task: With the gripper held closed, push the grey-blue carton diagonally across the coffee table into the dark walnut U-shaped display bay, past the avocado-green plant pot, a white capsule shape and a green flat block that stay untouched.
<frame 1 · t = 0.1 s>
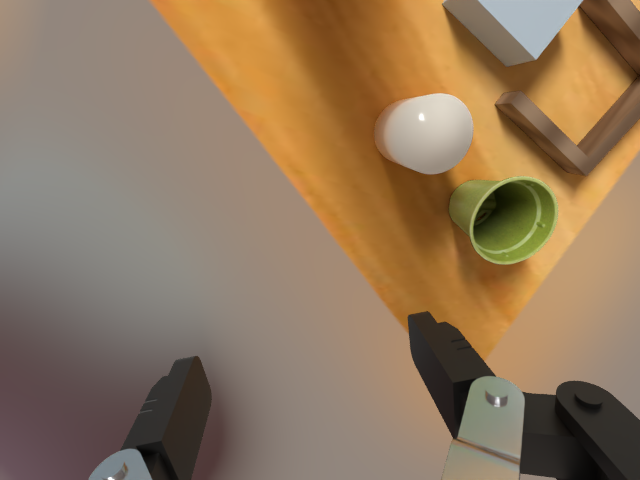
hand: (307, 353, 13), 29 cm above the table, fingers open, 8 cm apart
carton: (496, 6, 36), on the table
white capsule shape: (403, 132, 39), on the table
plant pot: (470, 202, 43), on the table
display bay: (572, 84, 39), on the table
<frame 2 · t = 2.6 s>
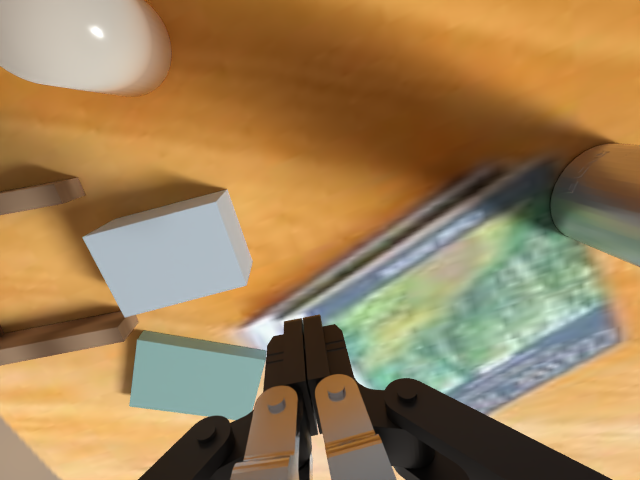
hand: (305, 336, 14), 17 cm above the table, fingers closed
carton: (186, 240, 30), on the table
white capsule shape: (121, 45, 25), on the table
green flat block: (201, 369, 35), on the table
display bay: (42, 268, 30), on the table
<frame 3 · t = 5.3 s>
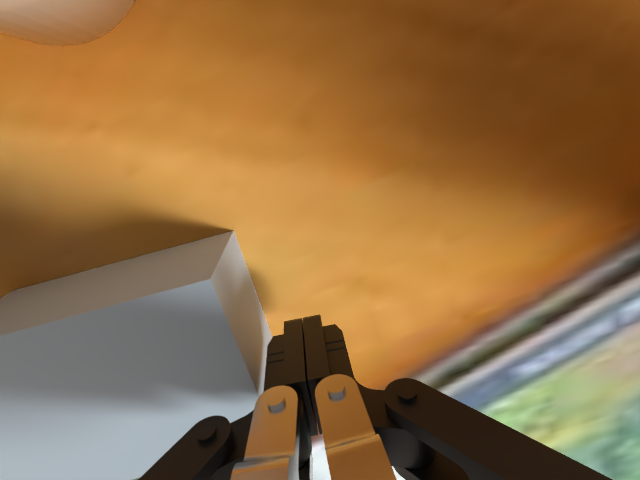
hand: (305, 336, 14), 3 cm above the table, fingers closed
carton: (157, 323, 16), on the table, touching gripper
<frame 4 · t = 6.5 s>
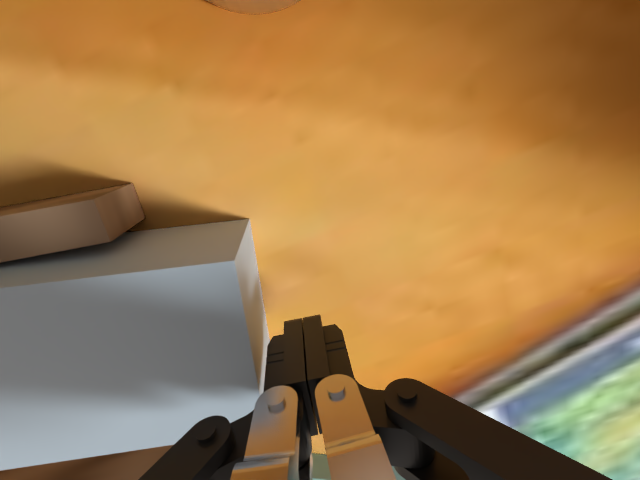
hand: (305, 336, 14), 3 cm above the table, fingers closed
carton: (155, 300, 16), on the table, touching gripper
display bay: (58, 351, 16), on the table
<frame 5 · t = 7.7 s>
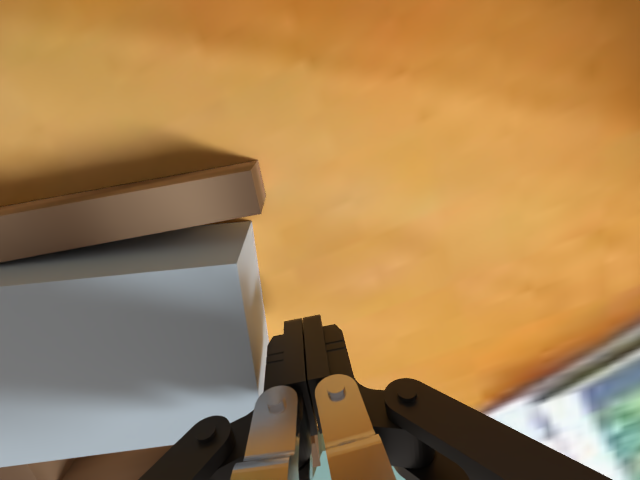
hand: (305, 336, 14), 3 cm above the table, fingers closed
carton: (155, 299, 16), on the table
green flat block: (392, 476, 22), on the table
display bay: (167, 330, 16), on the table
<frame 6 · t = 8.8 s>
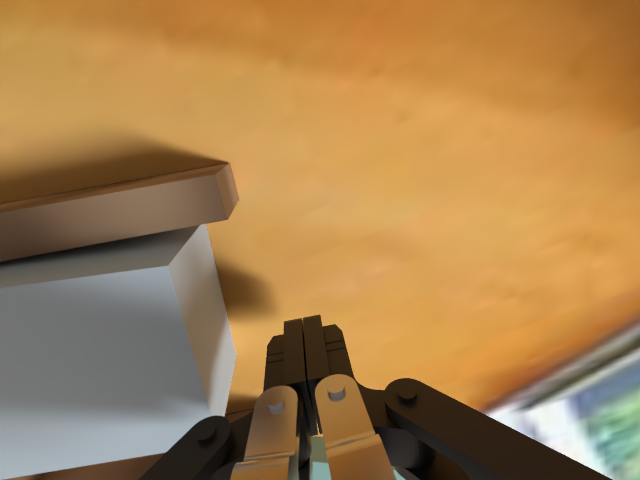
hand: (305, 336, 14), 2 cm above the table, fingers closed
carton: (111, 306, 15), on the table
display bay: (139, 337, 16), on the table
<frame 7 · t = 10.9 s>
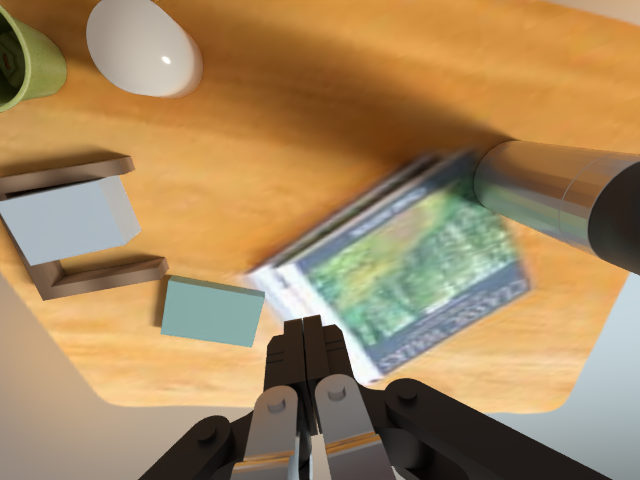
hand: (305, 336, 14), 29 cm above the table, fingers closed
carton: (87, 211, 39), on the table
white capsule shape: (168, 62, 35), on the table
green flat block: (215, 307, 46), on the table
plant pot: (35, 64, 34), on the table
display bay: (99, 224, 40), on the table
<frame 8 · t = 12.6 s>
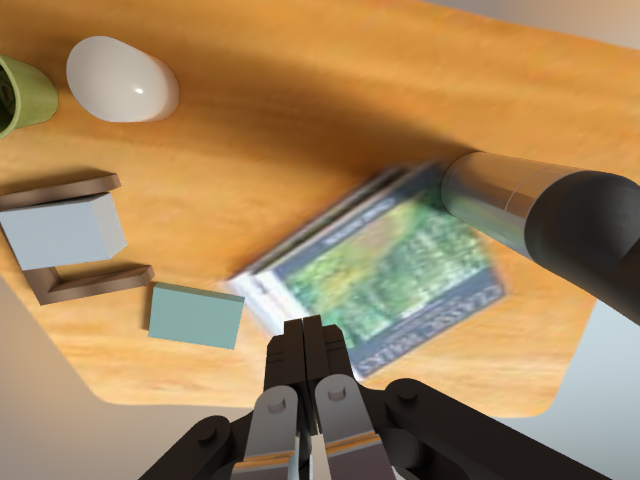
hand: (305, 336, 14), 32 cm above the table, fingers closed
carton: (80, 224, 43), on the table
white capsule shape: (148, 89, 39), on the table
green flat block: (199, 312, 49), on the table
plant pot: (31, 95, 38), on the table
display bay: (90, 236, 44), on the table
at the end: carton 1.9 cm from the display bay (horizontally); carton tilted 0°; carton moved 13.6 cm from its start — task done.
